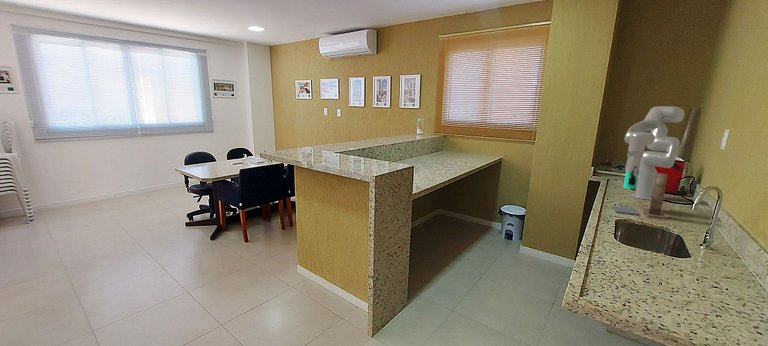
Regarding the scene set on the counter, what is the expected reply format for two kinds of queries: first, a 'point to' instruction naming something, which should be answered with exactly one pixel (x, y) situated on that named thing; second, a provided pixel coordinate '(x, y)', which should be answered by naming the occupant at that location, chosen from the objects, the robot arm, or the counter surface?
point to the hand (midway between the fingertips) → (630, 183)
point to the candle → (628, 181)
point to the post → (657, 197)
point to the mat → (625, 210)
